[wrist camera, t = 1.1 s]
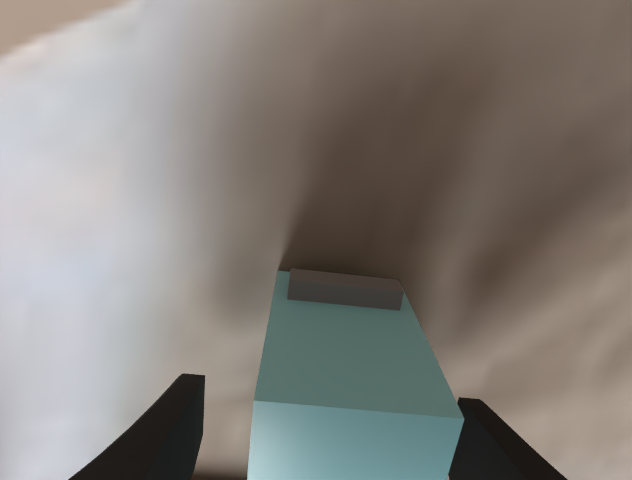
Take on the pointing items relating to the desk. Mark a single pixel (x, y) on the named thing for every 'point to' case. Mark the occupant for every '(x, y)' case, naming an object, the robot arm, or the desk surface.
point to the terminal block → (349, 385)
